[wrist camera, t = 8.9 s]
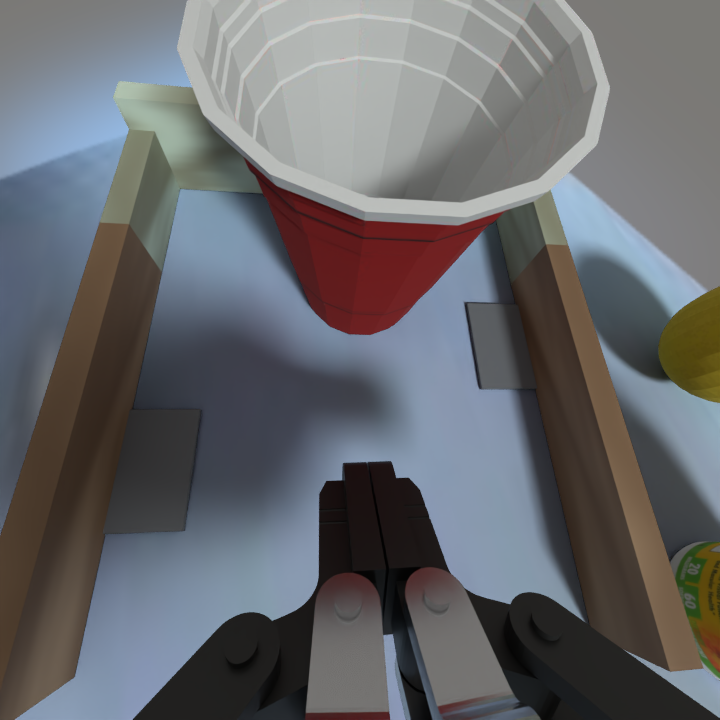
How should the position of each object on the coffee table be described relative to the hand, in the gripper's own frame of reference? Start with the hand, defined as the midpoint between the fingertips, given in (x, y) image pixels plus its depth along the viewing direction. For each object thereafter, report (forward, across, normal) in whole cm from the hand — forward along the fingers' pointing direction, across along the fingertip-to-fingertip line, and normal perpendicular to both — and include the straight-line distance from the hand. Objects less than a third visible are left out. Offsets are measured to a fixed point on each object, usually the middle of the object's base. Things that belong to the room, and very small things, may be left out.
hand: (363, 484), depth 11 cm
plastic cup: (+11, -1, -4) cm, 11 cm away
